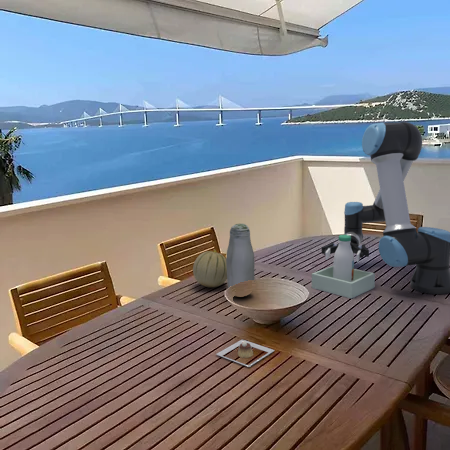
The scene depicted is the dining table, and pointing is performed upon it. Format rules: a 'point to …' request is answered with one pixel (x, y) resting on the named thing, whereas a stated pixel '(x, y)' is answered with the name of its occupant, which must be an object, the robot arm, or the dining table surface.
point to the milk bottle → (344, 260)
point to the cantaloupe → (210, 269)
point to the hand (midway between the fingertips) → (341, 257)
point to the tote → (343, 283)
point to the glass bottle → (239, 255)
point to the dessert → (245, 350)
